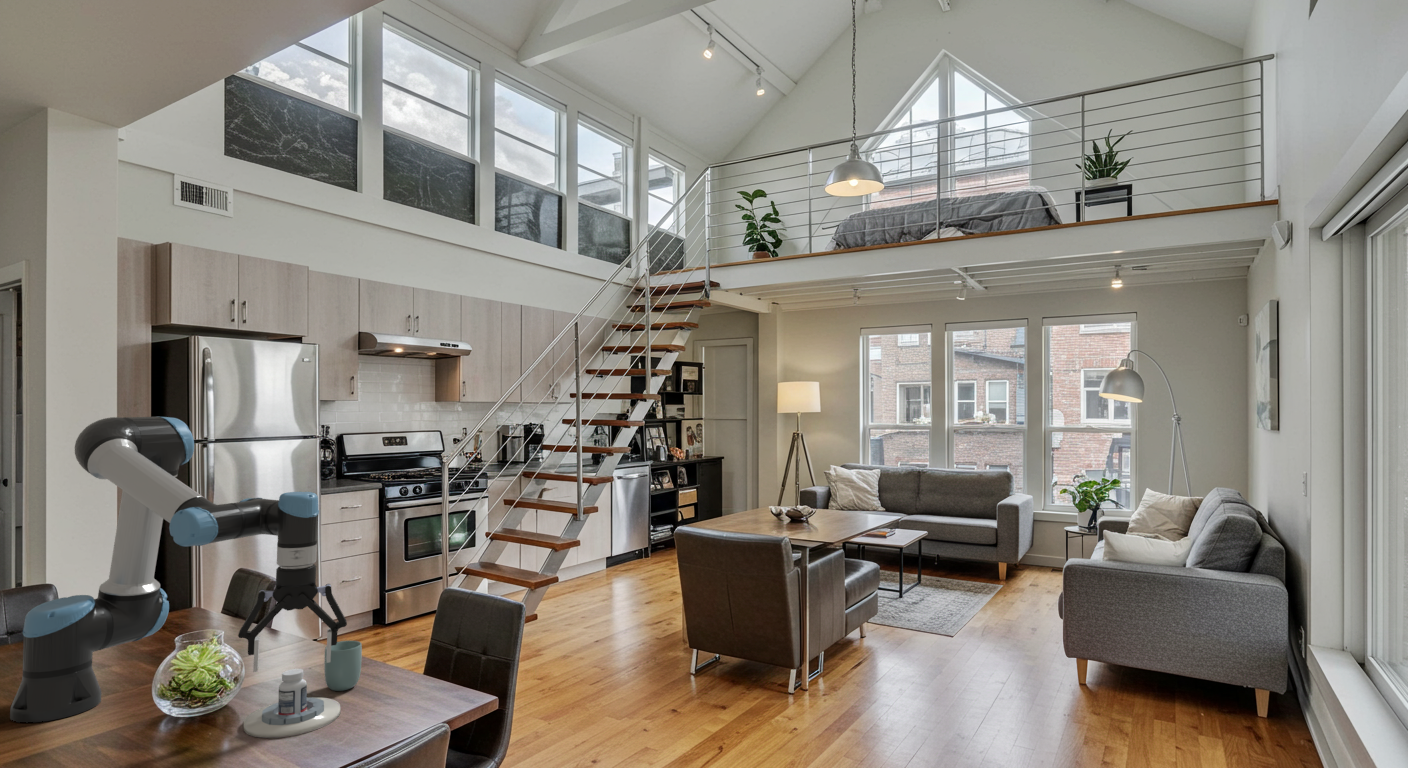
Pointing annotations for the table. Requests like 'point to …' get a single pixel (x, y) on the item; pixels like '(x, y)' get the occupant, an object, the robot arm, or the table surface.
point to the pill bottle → (292, 693)
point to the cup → (343, 665)
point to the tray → (291, 719)
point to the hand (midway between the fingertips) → (292, 665)
